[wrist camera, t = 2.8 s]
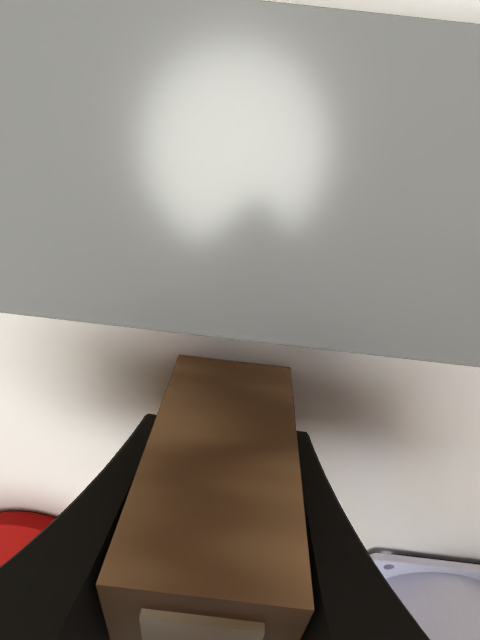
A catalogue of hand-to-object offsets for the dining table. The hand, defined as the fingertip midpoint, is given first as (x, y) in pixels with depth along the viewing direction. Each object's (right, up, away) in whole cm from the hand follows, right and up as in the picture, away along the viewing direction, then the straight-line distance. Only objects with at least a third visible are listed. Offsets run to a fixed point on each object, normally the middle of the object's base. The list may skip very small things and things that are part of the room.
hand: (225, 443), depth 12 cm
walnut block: (0, +1, +2) cm, 2 cm away
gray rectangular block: (+1, +8, -2) cm, 8 cm away
